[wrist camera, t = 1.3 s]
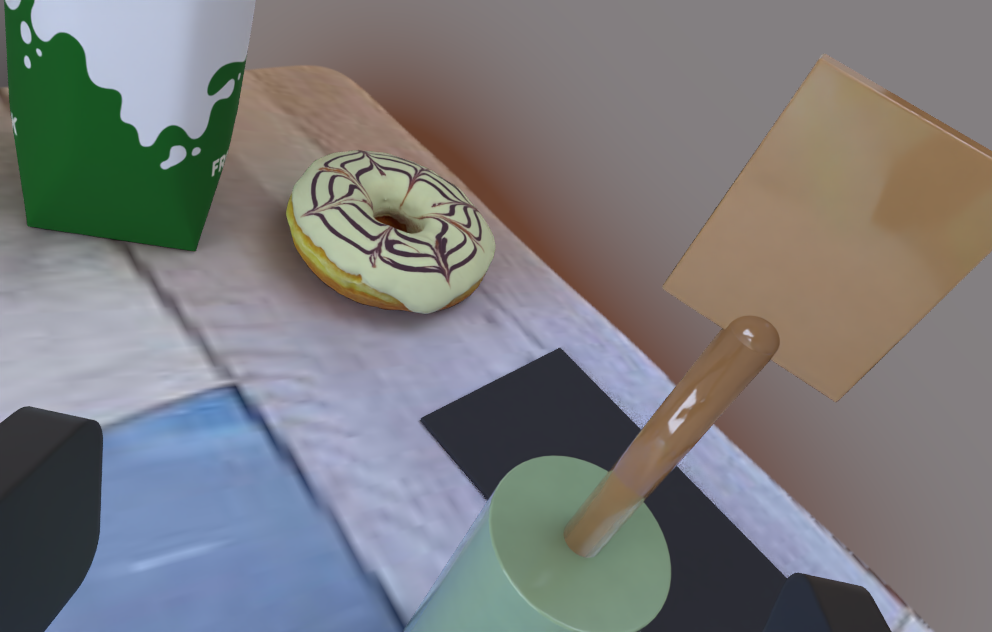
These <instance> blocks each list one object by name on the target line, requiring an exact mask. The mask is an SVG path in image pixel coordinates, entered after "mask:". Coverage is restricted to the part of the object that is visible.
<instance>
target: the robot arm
mask: <svg viewBox="0 0 992 632" xmlns="http://www.w3.org/2000/svg"><path fill="white" fill-rule="evenodd" d="M102 452H103V434H102V429H101V426H100V425H99V423H98V422H97V421H95V420H91V419H86V418H81V417H76V416H72V415H67V414H62V413H58V412H53V411H48V410H44V409H39V408H34V407H30V406H28V407H23V408H20V409H19V410H17V411H16V412H14V413H13V414H12V415H10V416H9V417H8V418H6V419H5V420H4V421H3V422H1V423H0V632H44V631H45V630H46V629H47V627H48V626H49V625H50V624H51V622H52V621H53V620H54V619H55V617H56V616H57V615H58V613H59V612H60V611H61V610H62V608H63V607H64V606H65V605H66V603H67V602H68V601H69V599H70V598H71V597H72V596H73V594H74V593H75V592H76V591H77V589H78V588H79V586H80V585H81V583H82V582H83V580H84V578H85V576H86V574H87V572H88V570H89V568H90V566H91V563H92V561H93V558H94V555H95V552H96V549H97V545H98V540H99V533H100V511H101V482H102ZM763 632H891V630H890V628H889V626H888V625H887V623H886V621H885V619H884V617H883V616H882V614H881V612H880V610H879V608H878V607H877V605H876V603H875V601H874V599H873V598H872V596H871V594H870V593H869V592H868V591H867V590H866V589H865V588H864V587H862V586H858V585H853V584H849V583H844V582H839V581H835V580H830V579H825V578H821V577H816V576H811V575H807V574H802V573H794V574H792V575H791V576H790V577H789V578H788V579H787V580H786V581H785V583H784V585H783V587H782V589H781V591H780V593H779V595H778V598H777V600H776V602H775V604H774V607H773V609H772V611H771V613H770V616H769V618H768V620H767V623H766V625H765V627H764V629H763Z"/></svg>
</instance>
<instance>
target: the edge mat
mask: <svg viewBox="0 0 992 632" xmlns="http://www.w3.org/2000/svg"><path fill="white" fill-rule="evenodd" d="M420 421H421V422H422V423H423V424H424V425H425V427H426V428H427V429H428V430H429V431H430V432H431V434H432V435H433V436H434V437H435V438H436V439H437V441H438V442H439V443H440V444H441V445H442V446H443V448H444V449H445V450H446V451H447V452H448V454H449V455H450V456H451V457H452V458H453V459H454V461H455V462H456V463H457V464H458V465H459V466H460V468H461V469H462V470H463V471H464V472H465V474H466V475H467V476H468V477H469V478H470V479H471V481H472V482H473V483H474V484H475V485H476V486H477V488H478V489H479V490H480V491H481V492H482V494H483V495H484V496H485V497H486V498H487V499H489V498H490V496H491V495H492V493H493V492H494V490H495V488H496V487H497V485H498V484H499V482H500V481H501V480H502V478H503V477H504V476H505V475H506V474H507V473H508V472H509V471H510V470H512V469H513V468H514V467H516V466H517V465H519V464H521V463H523V462H525V461H528V460H530V459H533V458H537V457H542V456H553V455H554V456H567V457H573V458H577V459H581V460H584V461H587V462H590V463H592V464H595V465H597V466H599V467H601V468H603V469H605V470H607V471H609V470H610V469H611V467H612V466H613V465H614V464H615V462H616V461H617V460H618V459H619V457H620V456H621V455H622V454H623V452H624V451H625V450H626V449H627V447H628V446H629V445H630V443H631V442H632V441H633V440H634V438H635V437H636V436H637V435H638V433H639V432H640V431H641V429H640V428H639V427H638V426H637V425H636V424H635V423H634V422H633V421H632V420H631V419H630V418H629V417H628V416H627V415H626V414H625V413H624V412H623V411H622V410H621V409H620V408H619V407H618V406H617V405H616V404H615V403H614V402H613V401H612V400H611V399H610V398H609V397H608V396H607V395H606V394H605V393H604V392H603V391H602V390H601V389H600V388H599V387H598V386H597V385H596V384H595V383H594V382H593V381H592V380H591V379H590V378H589V377H588V376H587V374H586V373H585V372H584V371H583V370H582V369H581V368H580V367H579V366H578V365H577V364H576V363H575V362H574V361H573V360H572V359H571V358H570V357H569V356H568V355H567V354H566V353H565V352H564V351H563V350H562V349H561V348H558V349H556V350H554V351H552V352H550V353H548V354H547V355H545V356H543V357H541V358H539V359H537V360H535V361H533V362H531V363H529V364H527V365H525V366H523V367H521V368H519V369H517V370H515V371H513V372H511V373H509V374H507V375H505V376H503V377H501V378H499V379H497V380H495V381H493V382H491V383H489V384H487V385H485V386H483V387H481V388H480V389H478V390H476V391H474V392H472V393H470V394H468V395H466V396H464V397H462V398H460V399H458V400H456V401H454V402H452V403H450V404H448V405H446V406H444V407H442V408H440V409H438V410H436V411H434V412H432V413H430V414H428V415H426V416H424V417H422V418H421V420H420ZM644 503H645V504H646V506H647V507H648V508H649V510H650V511H651V512H652V514H653V516H654V517H655V519H656V521H657V522H658V524H659V526H660V528H661V530H662V533H663V535H664V538H665V541H666V543H667V547H668V551H669V555H670V562H671V581H670V588H669V592H668V596H667V599H666V601H665V603H664V605H663V607H662V609H661V611H660V612H659V613H658V615H657V616H656V617H655V619H653V620H652V621H651V622H650V623H649V624H648V625H647V626H646V627H645V628H644V629H643V630H641V631H640V632H763V629H764V627H765V625H766V623H767V620H768V618H769V616H770V613H771V611H772V609H773V607H774V604H775V602H776V600H777V598H778V595H779V593H780V591H781V589H782V587H783V585H784V583H785V581H786V580H787V578H786V577H785V576H784V575H783V574H782V573H781V572H780V571H779V570H778V569H777V568H776V567H775V566H774V565H773V564H772V563H771V562H770V561H769V560H768V559H767V558H766V557H765V556H764V555H763V554H762V553H761V552H760V551H759V550H758V548H757V547H756V546H755V545H754V544H753V543H752V542H751V541H750V540H749V539H748V538H747V537H746V536H745V535H744V534H743V533H742V532H741V531H740V530H739V529H738V528H737V527H736V526H735V525H734V524H733V523H732V522H731V521H730V520H729V519H728V518H727V517H726V516H725V515H724V514H723V513H722V512H721V511H720V510H719V509H718V508H717V507H716V506H715V505H714V504H713V503H712V502H711V501H710V500H709V499H708V498H707V497H706V496H705V495H704V494H703V493H702V492H701V490H700V489H699V488H698V487H697V486H696V485H695V484H694V483H693V482H692V481H691V480H690V479H689V478H688V477H687V476H686V475H685V474H684V473H683V472H682V471H681V470H680V469H679V468H678V467H677V466H676V467H675V468H674V469H673V470H672V471H671V472H670V474H669V475H668V476H667V477H666V478H665V479H664V480H663V481H662V483H661V484H660V485H659V486H658V487H657V488H656V489H655V490H654V492H653V493H652V494H651V495H650V496H649V497H648V498H647V499H646V501H645V502H644Z"/></svg>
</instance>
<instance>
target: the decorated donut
mask: <svg viewBox="0 0 992 632" xmlns="http://www.w3.org/2000/svg"><path fill="white" fill-rule="evenodd" d="M286 216H287V220H288V223H289V226H290V231H291V234H292V238H293V242H294V245H295V247H296V249H297V251H298V252H299V254H300V255H301V257H302V258H303V260H304V261H305V262H306V264H307V265H308V267H309V268H310V269H311V270H312V271H313V272H314V273H315V274H316V275H317V276H318V277H319V278H320V279H321V280H322V281H323V282H324V283H326V284H327V285H328V286H330V287H331V288H333V289H334V290H335V291H336V292H338V293H340V294H341V295H344V296H345V297H348V298H350V299H352V300H354V301H356V302H358V303H361V304H365V305H370V306H376V307H379V308H381V309H387V310H405V311H410V312H417V313H423V314H429V313H432V312H435V311H438V310H442V309H445V308H448V307H451V306H454V305H456V304H458V303H459V302H461V301H463V300H464V299H466V298H467V297H468V296H470V295H471V294H472V293H473V292H474V291H475V290H476V289H477V288H478V286H479V285H480V282H481V281H482V279H483V277H484V275H485V273H486V272H487V270H488V267H489V265H490V263H491V261H492V260H493V257H494V252H495V241H494V237H493V234H492V232H491V230H490V228H489V227H488V225H487V223H486V222H485V220H484V219H483V217H482V216H481V215H480V213H479V211H478V210H477V209H476V207H475V206H474V205H473V204H472V203H471V202H470V201H469V199H468V198H467V197H466V195H465V194H464V193H463V192H462V191H461V190H460V189H459V188H457V187H456V186H455V185H453V184H451V183H450V182H448V181H446V180H444V179H443V178H441V177H440V176H439V175H437V174H436V173H434V172H433V171H431V170H430V169H428V168H426V167H423V166H420V165H419V164H417V163H415V162H412V161H409V160H405V159H402V158H399V157H396V156H393V155H391V154H388V153H380V152H373V151H360V150H356V151H348V152H337V153H333V154H329V155H327V156H324V157H322V158H320V159H317V160H315V161H314V162H313V163H312V164H311V165H310V167H308V169H306V171H305V173H304V174H303V176H302V177H301V178H300V179H299V180H298V181H297V182H296V184H295V185H294V187H293V190H292V194H291V196H290V199H289V202H288V205H287V210H286Z"/></svg>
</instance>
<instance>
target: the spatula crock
mask: <svg viewBox="0 0 992 632" xmlns="http://www.w3.org/2000/svg"><path fill="white" fill-rule="evenodd" d="M991 251H992V151H991V150H989V149H987V148H986V147H984V146H982V145H980V144H979V143H977V142H975V141H973V140H971V139H970V138H968V137H967V136H965V135H963V134H962V133H960V132H958V131H956V130H955V129H953V128H951V127H950V126H948V125H946V124H944V123H943V122H941V121H939V120H938V119H936V118H934V117H932V116H931V115H929V114H927V113H926V112H924V111H922V110H920V109H919V108H917V107H915V106H914V105H912V104H910V103H908V102H907V101H905V100H903V99H902V98H900V97H898V96H897V95H895V94H893V93H891V92H890V91H888V90H886V89H884V88H883V87H881V86H879V85H878V84H876V83H874V82H872V81H871V80H869V79H867V78H866V77H864V76H862V75H860V74H859V73H857V72H855V71H854V70H852V69H850V68H848V67H847V66H845V65H843V64H842V63H840V62H838V61H837V60H835V59H833V58H831V57H830V56H828V55H826V54H822V55H821V57H820V58H819V59H818V61H817V62H816V64H815V65H814V67H813V68H812V69H811V71H810V72H809V74H808V75H807V77H806V78H805V80H804V81H803V83H802V84H801V85H800V87H799V88H798V90H797V92H796V93H795V94H794V96H793V97H792V99H791V100H790V101H789V103H788V105H787V106H786V107H785V109H784V110H783V112H782V113H781V114H780V116H779V117H778V119H777V120H776V122H775V123H774V125H773V126H772V128H771V129H770V131H769V132H768V133H767V135H766V136H765V138H764V139H763V141H762V142H761V144H760V145H759V146H758V148H757V149H756V151H755V152H754V154H753V155H752V157H751V158H750V160H749V161H748V163H747V164H746V165H745V167H744V168H743V170H742V171H741V173H740V174H739V176H738V177H737V178H736V180H735V181H734V183H733V184H732V186H731V187H730V188H729V190H728V191H727V193H726V194H725V196H724V197H723V199H722V200H721V202H720V203H719V204H718V206H717V207H716V209H715V210H714V212H713V213H712V215H711V216H710V218H709V219H708V221H707V222H706V223H705V225H704V226H703V228H702V229H701V231H700V232H699V234H698V235H697V236H696V238H695V239H694V241H693V242H692V244H691V245H690V247H689V248H688V249H687V251H686V253H685V254H684V255H683V257H682V258H681V260H680V261H679V263H678V264H677V265H676V267H675V268H674V270H673V271H672V273H671V275H670V276H669V277H668V279H667V280H666V282H665V283H664V284H663V286H662V289H663V290H665V291H666V292H668V293H669V294H671V295H672V296H674V297H676V298H677V299H679V300H680V301H682V302H683V303H685V304H686V305H688V306H689V307H691V308H692V309H694V310H695V311H697V312H698V313H700V314H701V315H703V316H705V317H706V318H708V319H709V320H711V321H712V322H714V323H715V324H717V325H718V326H720V327H721V328H722V329H721V330H720V332H719V333H718V334H717V335H716V337H715V338H714V339H713V340H712V342H711V343H710V344H709V345H708V347H707V348H706V349H705V350H704V352H703V353H702V354H701V355H700V357H699V358H698V359H697V361H696V362H695V363H694V365H693V366H692V367H691V368H690V369H689V371H688V372H687V373H686V374H685V376H684V377H683V378H682V379H681V381H680V382H679V383H678V384H677V386H676V387H675V388H674V389H673V391H672V392H671V393H670V394H669V396H668V397H667V398H666V399H665V401H664V402H663V403H662V405H661V406H660V407H659V408H658V410H657V411H656V412H655V413H654V415H653V416H652V417H651V418H650V420H649V421H648V422H647V423H646V425H645V426H644V427H643V428H642V430H641V431H640V432H639V433H638V435H637V436H636V437H635V438H634V440H633V441H632V442H631V443H630V445H629V446H628V447H627V449H626V450H625V451H624V452H623V454H622V455H621V456H620V457H619V459H618V460H617V461H616V462H615V464H614V465H613V466H612V467H611V469H610V470H609V471H607V470H605V469H603V468H601V467H599V466H597V465H595V464H592V463H590V462H587V461H584V460H581V459H577V458H573V457H567V456H554V455H553V456H542V457H537V458H533V459H530V460H528V461H525V462H523V463H521V464H519V465H517V466H516V467H514V468H513V469H512V470H510V471H509V472H508V473H507V474H506V475H505V476H504V477H503V478H502V480H501V481H500V482H499V484H498V485H497V487H496V488H495V490H494V492H493V493H492V495H491V496H490V498H489V499H488V501H487V502H486V504H485V505H484V507H483V509H482V510H481V512H480V513H479V515H478V516H477V518H476V519H475V521H474V522H473V524H472V525H471V527H470V529H469V530H468V532H467V533H466V535H465V536H464V538H463V539H462V541H461V542H460V544H459V546H458V547H457V549H456V550H455V552H454V553H453V555H452V556H451V558H450V559H449V561H448V562H447V564H446V566H445V567H444V569H443V570H442V572H441V573H440V575H439V576H438V578H437V579H436V581H435V583H434V584H433V586H432V587H431V589H430V590H429V592H428V593H427V595H426V596H425V598H424V600H423V601H422V603H421V604H420V606H419V607H418V609H417V610H416V612H415V613H414V615H413V616H412V618H411V620H410V621H409V623H408V624H407V626H406V627H405V629H404V630H403V632H640V631H641V630H643V629H644V628H645V627H646V626H647V625H648V624H649V623H650V622H651V621H652V620H653V619H655V617H656V616H657V615H658V613H659V612H660V611H661V609H662V607H663V605H664V603H665V601H666V599H667V596H668V592H669V588H670V581H671V562H670V555H669V551H668V547H667V543H666V541H665V538H664V535H663V533H662V530H661V528H660V526H659V524H658V522H657V521H656V519H655V517H654V516H653V514H652V512H651V511H650V510H649V508H648V507H647V506H646V504H645V503H644V502H645V501H646V499H647V498H648V497H649V496H650V495H651V494H652V493H653V492H654V490H655V489H656V488H657V487H658V486H659V485H660V484H661V483H662V481H663V480H664V479H665V478H666V477H667V476H668V475H669V474H670V472H671V471H672V470H673V469H674V468H675V467H676V466H677V465H678V463H679V462H680V461H681V460H682V459H683V458H684V457H685V455H686V454H687V453H688V452H689V451H690V450H691V449H692V448H693V446H694V445H695V444H696V443H697V442H698V441H699V440H700V439H701V437H702V436H703V435H704V434H705V433H706V432H707V431H708V430H709V428H710V427H711V426H712V425H713V424H714V423H715V422H716V421H717V419H718V418H719V417H720V416H721V415H722V414H723V413H724V412H725V410H726V409H727V408H728V407H729V406H730V405H731V404H732V402H733V401H734V400H735V399H736V398H737V397H738V396H739V395H740V393H741V392H742V391H743V390H744V389H745V388H746V387H747V386H748V384H749V383H750V382H751V381H752V380H753V379H754V378H755V377H756V375H757V374H758V373H759V372H760V371H761V370H762V369H763V368H764V366H765V365H766V364H767V363H768V362H769V361H770V360H772V361H773V362H775V363H776V364H778V365H780V366H781V367H783V368H784V369H786V370H787V371H789V372H790V373H792V374H793V375H795V376H796V377H798V378H799V379H801V380H802V381H804V382H805V383H807V384H808V385H810V386H812V387H813V388H814V389H816V390H818V391H819V392H821V393H822V394H824V395H825V396H827V397H828V398H830V399H831V400H833V401H834V402H837V401H839V400H840V399H841V398H842V397H843V396H844V395H845V394H846V393H847V392H848V391H849V390H850V389H851V388H852V387H853V386H854V385H855V384H856V383H857V382H858V381H859V380H860V379H861V378H862V377H863V376H864V375H865V374H866V373H867V372H868V371H869V370H871V368H873V367H874V366H875V365H876V364H877V363H878V362H879V361H880V360H881V358H883V357H884V356H885V355H886V354H887V353H888V352H889V351H890V350H891V349H892V348H893V347H894V346H895V345H896V344H897V343H898V342H899V341H900V340H901V339H902V338H903V337H904V336H905V335H906V334H907V333H908V332H909V331H910V330H911V329H912V328H914V327H915V326H916V324H918V323H919V322H920V321H921V320H922V319H923V318H924V317H925V315H927V314H928V313H929V312H930V311H931V310H932V309H933V308H934V307H935V306H936V305H937V304H938V303H939V302H940V301H941V300H942V299H943V298H944V297H945V296H946V295H947V294H948V293H949V292H950V291H951V290H952V289H953V288H954V287H955V286H957V284H959V282H961V281H962V280H963V279H964V278H965V277H966V276H967V275H968V274H969V273H970V272H971V271H972V270H973V269H974V268H975V267H976V266H977V265H978V264H979V263H980V262H981V261H982V260H983V259H984V258H985V257H986V256H987V255H988V254H989V253H990V252H991Z"/></svg>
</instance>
